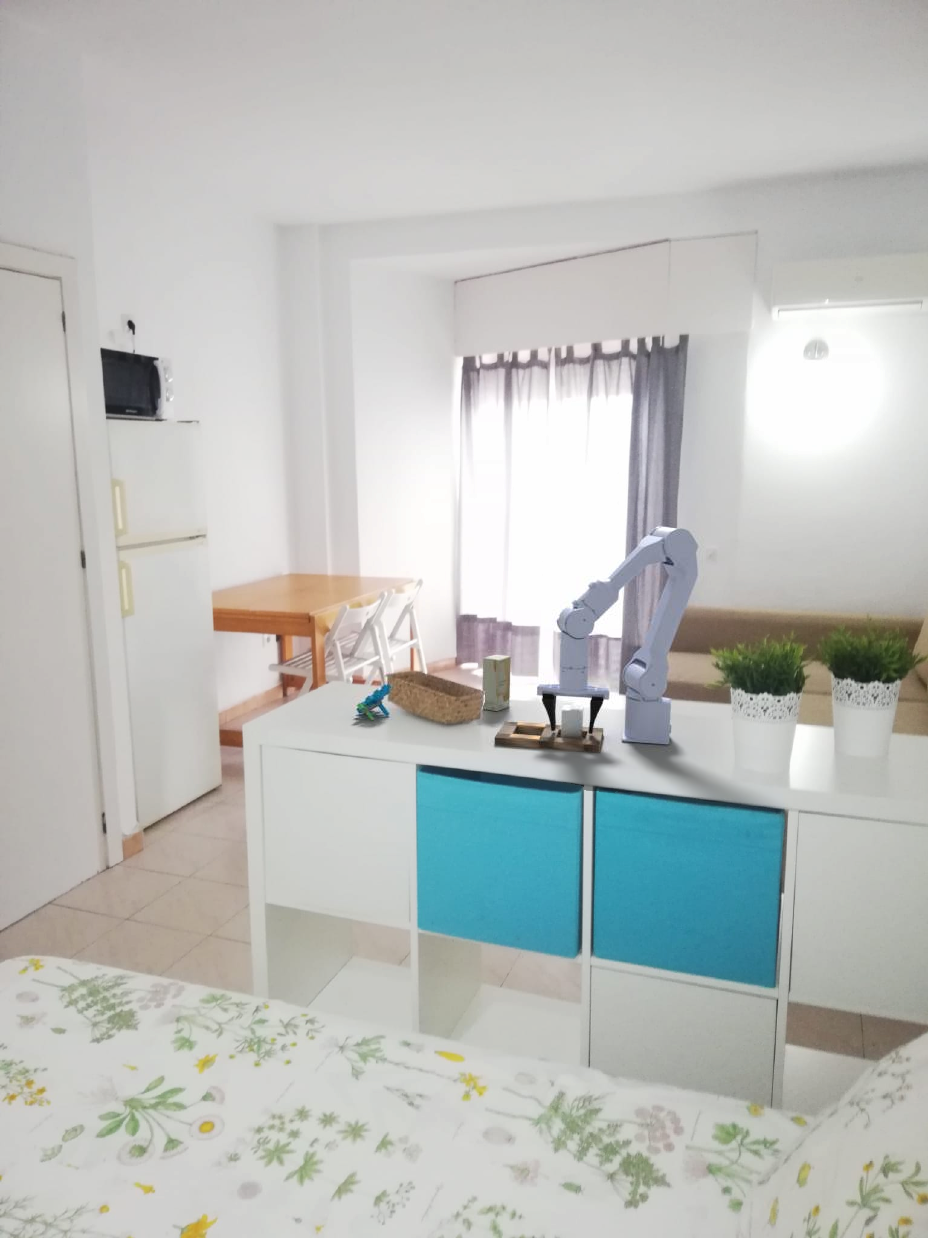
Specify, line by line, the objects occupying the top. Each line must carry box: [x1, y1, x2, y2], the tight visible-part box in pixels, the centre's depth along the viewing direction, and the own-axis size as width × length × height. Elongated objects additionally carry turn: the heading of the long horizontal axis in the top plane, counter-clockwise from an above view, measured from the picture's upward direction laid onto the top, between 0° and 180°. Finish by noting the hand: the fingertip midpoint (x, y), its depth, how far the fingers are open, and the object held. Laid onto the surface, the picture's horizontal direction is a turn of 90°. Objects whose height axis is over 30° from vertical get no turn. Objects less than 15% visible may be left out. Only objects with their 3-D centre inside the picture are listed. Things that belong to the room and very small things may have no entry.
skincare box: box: [481, 654, 512, 712], centre depth 200 cm, size 6×4×12 cm
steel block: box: [560, 705, 584, 739], centre depth 175 cm, size 4×4×7 cm
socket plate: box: [494, 721, 604, 753], centre depth 176 cm, size 21×12×2 cm, turn 77°
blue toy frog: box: [356, 682, 391, 721], centre depth 193 cm, size 11×6×10 cm
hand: (572, 731), depth 175 cm, fingers open, 7 cm apart
